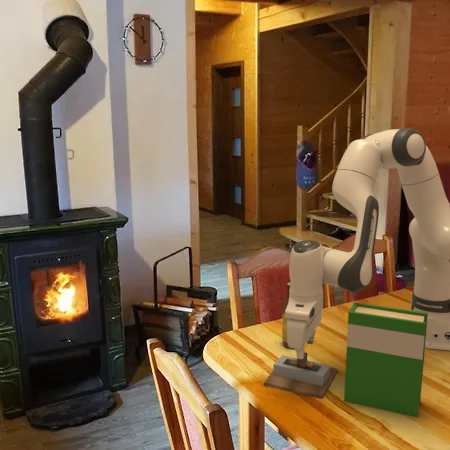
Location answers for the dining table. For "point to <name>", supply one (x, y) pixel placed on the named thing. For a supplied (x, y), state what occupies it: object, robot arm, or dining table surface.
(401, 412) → the hardback book
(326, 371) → the grey rectangular frame
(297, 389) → the post fixture
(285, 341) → the sauce bottle
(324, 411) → the dining table surface
